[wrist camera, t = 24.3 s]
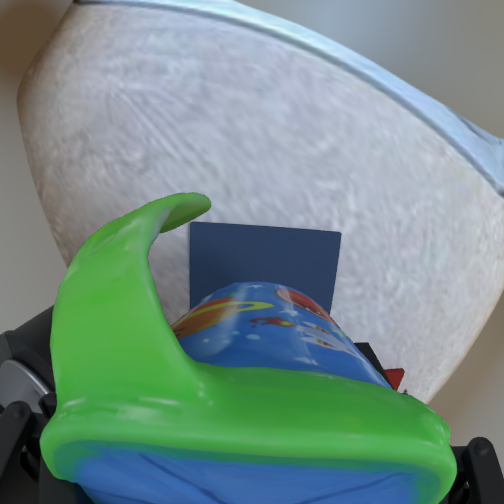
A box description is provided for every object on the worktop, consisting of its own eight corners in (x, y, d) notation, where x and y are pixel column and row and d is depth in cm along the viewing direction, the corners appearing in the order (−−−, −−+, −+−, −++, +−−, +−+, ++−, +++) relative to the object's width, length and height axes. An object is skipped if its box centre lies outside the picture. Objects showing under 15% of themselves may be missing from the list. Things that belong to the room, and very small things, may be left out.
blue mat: (193, 348, 23) (191, 352, 22) (192, 221, 20) (189, 222, 20) (319, 358, 22) (320, 362, 22) (339, 231, 20) (341, 233, 19)
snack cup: (364, 421, 14) (401, 549, 4) (211, 444, 16) (180, 565, 6) (335, 165, 11) (524, 108, 1) (119, 222, 13) (-67, 284, 3)
